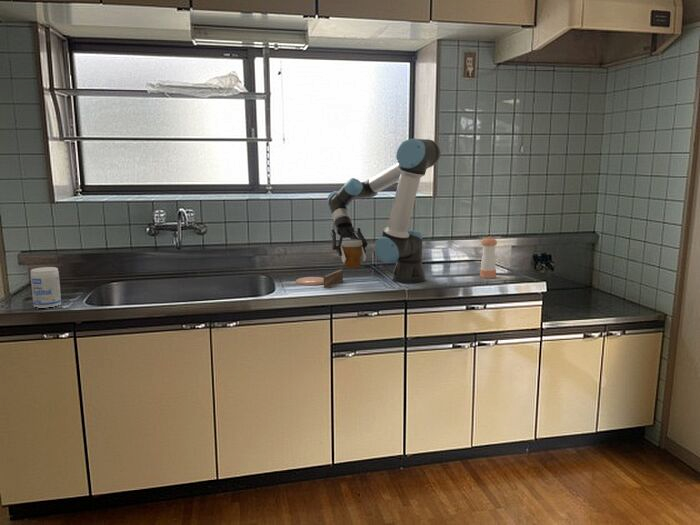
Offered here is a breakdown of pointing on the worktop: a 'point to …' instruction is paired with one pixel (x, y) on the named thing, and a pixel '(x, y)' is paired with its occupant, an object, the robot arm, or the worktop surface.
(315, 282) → the terracotta coaster
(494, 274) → the pepper shaker
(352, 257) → the disposable coffee cup
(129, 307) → the worktop surface
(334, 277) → the walnut wall
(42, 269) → the supplement tub
